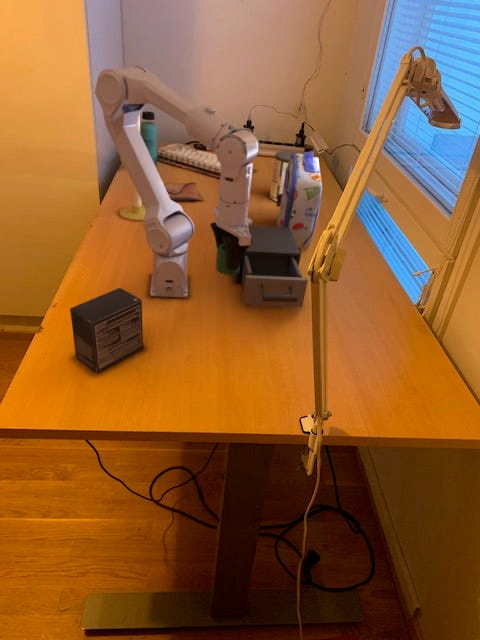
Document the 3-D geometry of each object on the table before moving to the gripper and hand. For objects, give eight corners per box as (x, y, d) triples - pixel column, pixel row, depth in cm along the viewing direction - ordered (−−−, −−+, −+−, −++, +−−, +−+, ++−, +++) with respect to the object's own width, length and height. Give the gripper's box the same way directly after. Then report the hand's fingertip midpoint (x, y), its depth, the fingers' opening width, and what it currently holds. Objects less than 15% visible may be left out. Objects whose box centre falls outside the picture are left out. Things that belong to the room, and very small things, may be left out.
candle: (161, 213, 143) (163, 92, 125) (139, 223, 135) (137, 96, 118) (135, 204, 147) (133, 85, 129) (111, 213, 139) (106, 89, 121)
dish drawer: (307, 321, 101) (313, 294, 97) (245, 319, 99) (249, 291, 96) (290, 276, 117) (295, 251, 113) (237, 274, 115) (239, 248, 111)
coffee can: (291, 192, 171) (298, 150, 163) (305, 203, 163) (312, 160, 155) (264, 193, 167) (270, 150, 159) (277, 204, 159) (283, 160, 151)
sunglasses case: (147, 202, 147) (144, 180, 147) (142, 206, 154) (140, 185, 153) (204, 200, 154) (201, 178, 153) (197, 204, 160) (195, 183, 160)
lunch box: (274, 214, 151) (285, 141, 139) (307, 218, 151) (321, 145, 139) (273, 253, 128) (287, 169, 116) (313, 258, 128) (330, 175, 116)
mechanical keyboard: (255, 170, 187) (256, 161, 185) (230, 182, 173) (231, 173, 171) (174, 149, 201) (174, 140, 199) (145, 158, 186) (145, 149, 184)
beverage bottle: (136, 169, 173) (135, 109, 162) (154, 169, 176) (154, 109, 165) (141, 175, 169) (140, 114, 158) (160, 175, 171) (160, 114, 160)
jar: (242, 273, 100) (245, 252, 97) (220, 275, 98) (222, 254, 95) (234, 263, 103) (236, 242, 100) (212, 265, 101) (214, 243, 99)
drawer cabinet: (294, 286, 115) (301, 253, 110) (235, 283, 113) (238, 250, 108) (284, 257, 127) (289, 227, 122) (230, 255, 125) (233, 224, 120)
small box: (121, 333, 93) (119, 285, 87) (145, 348, 90) (144, 299, 84) (73, 357, 86) (67, 306, 80) (97, 374, 82) (92, 323, 77)
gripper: (269, 211, 88) (260, 278, 96) (239, 184, 99) (233, 246, 107) (232, 213, 86) (226, 282, 93) (206, 186, 97) (202, 248, 104)
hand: (228, 263), depth 100 cm, fingers closed on jar, 5 cm apart
